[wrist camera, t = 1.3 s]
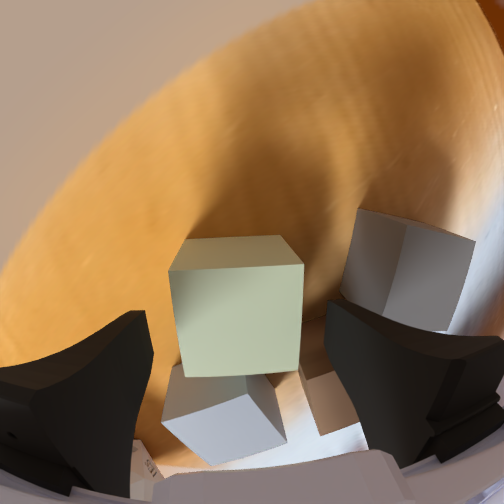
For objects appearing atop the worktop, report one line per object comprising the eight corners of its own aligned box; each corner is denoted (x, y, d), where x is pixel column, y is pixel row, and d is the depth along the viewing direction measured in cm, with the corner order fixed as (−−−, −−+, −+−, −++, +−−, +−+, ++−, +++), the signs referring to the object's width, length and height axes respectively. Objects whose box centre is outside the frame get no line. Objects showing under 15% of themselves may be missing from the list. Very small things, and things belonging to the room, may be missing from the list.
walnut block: (361, 301, 17) (400, 343, 12) (367, 359, 19) (398, 404, 14) (286, 327, 17) (306, 380, 12) (301, 383, 19) (320, 436, 14)
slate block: (240, 337, 17) (247, 393, 12) (274, 388, 18) (287, 442, 14) (172, 366, 17) (160, 422, 12) (211, 412, 19) (211, 466, 14)
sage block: (279, 234, 16) (304, 264, 11) (279, 317, 17) (298, 370, 12) (185, 238, 15) (168, 270, 10) (194, 322, 17) (185, 377, 12)
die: (190, 454, 21) (156, 496, 12) (158, 512, 18) (121, 558, 9) (115, 409, 22) (55, 424, 13) (90, 469, 20) (35, 495, 11)
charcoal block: (422, 222, 16) (475, 241, 11) (403, 295, 17) (447, 330, 13) (357, 207, 16) (407, 224, 11) (338, 290, 17) (376, 332, 12)
